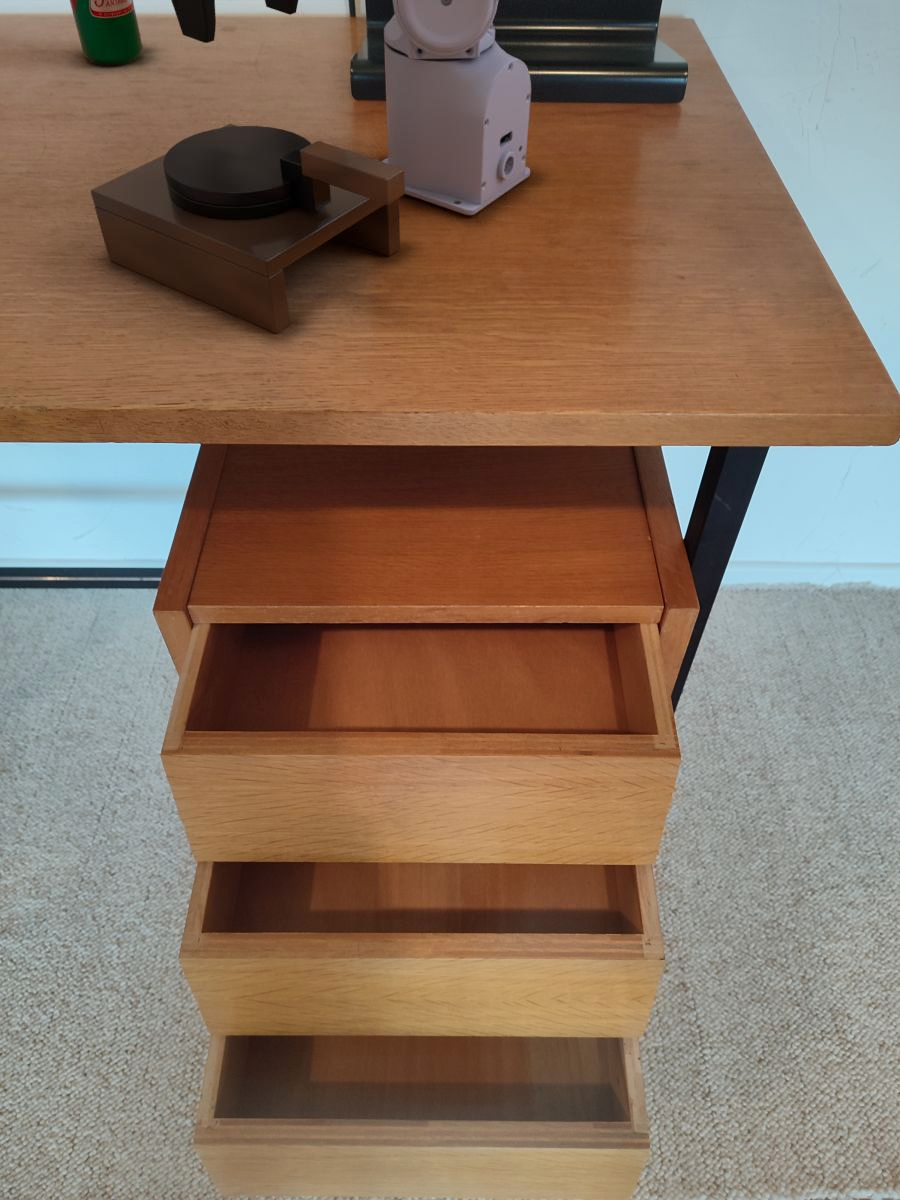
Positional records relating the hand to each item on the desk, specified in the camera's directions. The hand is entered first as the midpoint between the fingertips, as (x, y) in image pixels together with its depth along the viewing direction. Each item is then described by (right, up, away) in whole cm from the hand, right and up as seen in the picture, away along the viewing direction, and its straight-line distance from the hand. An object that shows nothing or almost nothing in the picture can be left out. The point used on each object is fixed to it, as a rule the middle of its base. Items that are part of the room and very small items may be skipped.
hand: (241, 23), depth 58 cm
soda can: (-16, +11, +23) cm, 30 cm away
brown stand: (+1, -14, +1) cm, 14 cm away
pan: (+4, -13, -4) cm, 14 cm away
